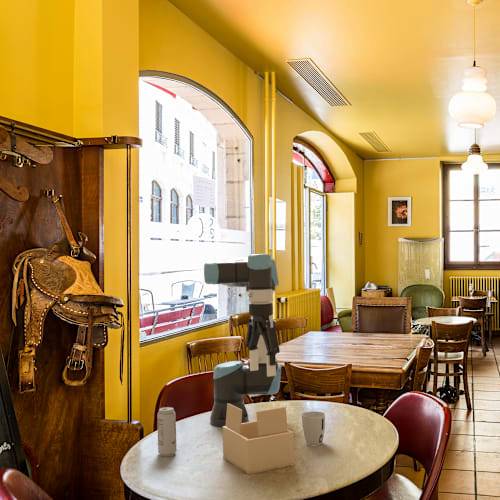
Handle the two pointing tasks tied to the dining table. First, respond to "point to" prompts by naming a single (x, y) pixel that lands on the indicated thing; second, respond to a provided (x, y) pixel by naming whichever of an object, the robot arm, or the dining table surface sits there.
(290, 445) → the carton
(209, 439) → the dining table surface
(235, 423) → the side flap
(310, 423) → the cup
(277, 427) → the front flap
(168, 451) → the energy drink can
